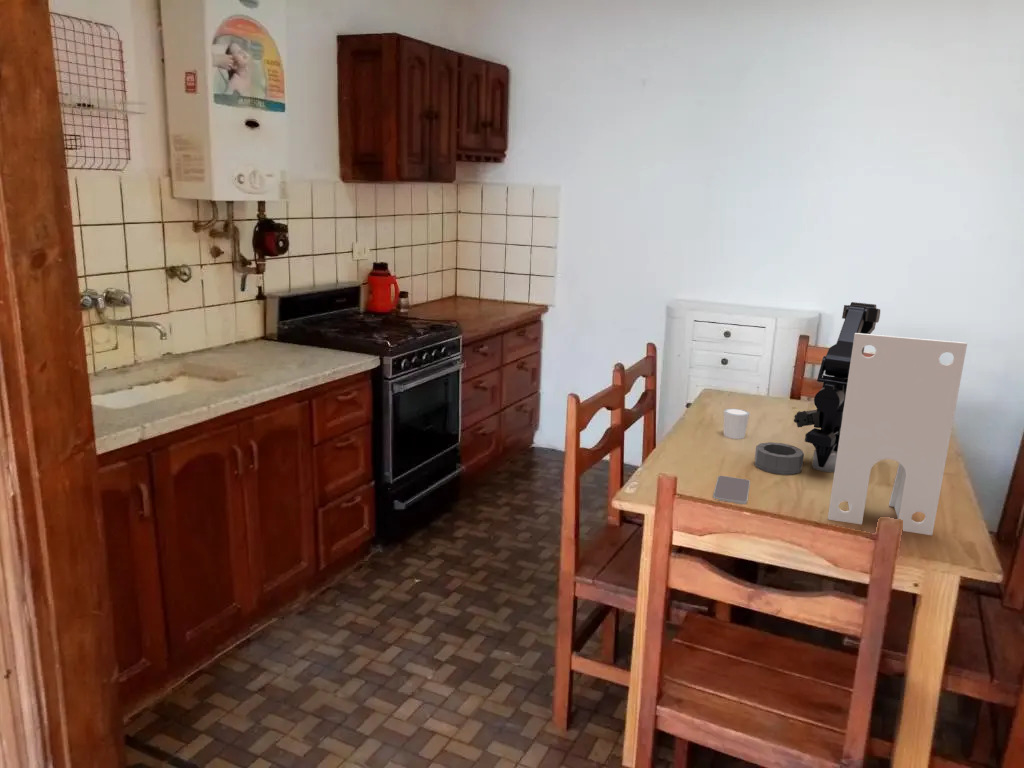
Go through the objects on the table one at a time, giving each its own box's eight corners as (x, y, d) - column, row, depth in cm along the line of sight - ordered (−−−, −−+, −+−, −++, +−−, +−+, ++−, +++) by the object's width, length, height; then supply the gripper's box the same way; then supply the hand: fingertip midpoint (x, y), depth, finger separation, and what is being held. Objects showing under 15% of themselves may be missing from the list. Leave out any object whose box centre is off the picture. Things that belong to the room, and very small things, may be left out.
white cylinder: (751, 438, 223) (754, 414, 221) (731, 440, 220) (733, 416, 218) (736, 431, 229) (739, 407, 227) (716, 433, 226) (718, 409, 224)
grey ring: (764, 456, 208) (766, 439, 207) (807, 466, 202) (809, 449, 201) (747, 466, 200) (749, 449, 199) (791, 478, 194) (793, 460, 192)
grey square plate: (750, 479, 190) (747, 502, 177) (750, 483, 191) (746, 506, 177) (718, 475, 193) (712, 496, 179) (717, 478, 193) (712, 500, 179)
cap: (816, 461, 206) (818, 446, 205) (840, 467, 202) (842, 452, 201) (808, 467, 201) (810, 452, 200) (833, 473, 198) (835, 458, 197)
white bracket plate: (921, 509, 178) (953, 331, 168) (932, 535, 165) (967, 343, 155) (825, 495, 184) (850, 322, 174) (828, 519, 171) (855, 333, 161)
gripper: (813, 390, 209) (805, 447, 213) (787, 404, 195) (779, 465, 199) (858, 398, 203) (849, 457, 207) (834, 414, 189) (825, 476, 193)
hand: (825, 463), depth 202 cm, fingers closed on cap, 6 cm apart
